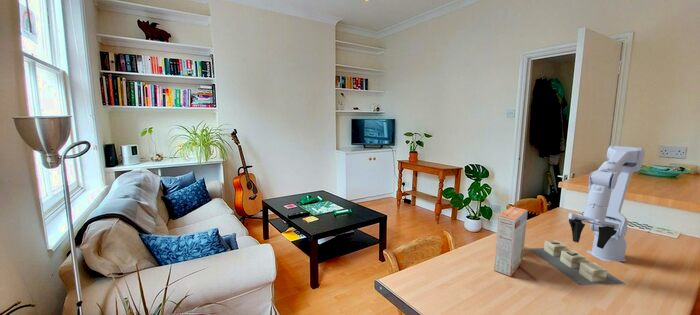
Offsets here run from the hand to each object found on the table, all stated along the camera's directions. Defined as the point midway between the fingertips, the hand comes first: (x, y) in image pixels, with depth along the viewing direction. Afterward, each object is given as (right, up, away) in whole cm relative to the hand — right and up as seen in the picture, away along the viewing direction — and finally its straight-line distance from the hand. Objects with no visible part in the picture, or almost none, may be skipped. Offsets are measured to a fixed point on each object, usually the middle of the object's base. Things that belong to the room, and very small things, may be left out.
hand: (587, 244), depth 99 cm
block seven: (+1, -10, +8) cm, 13 cm away
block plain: (+1, -11, 0) cm, 11 cm away
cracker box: (-23, -10, +7) cm, 26 cm away
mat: (+1, -10, +8) cm, 13 cm away
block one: (0, -8, +17) cm, 19 cm away
